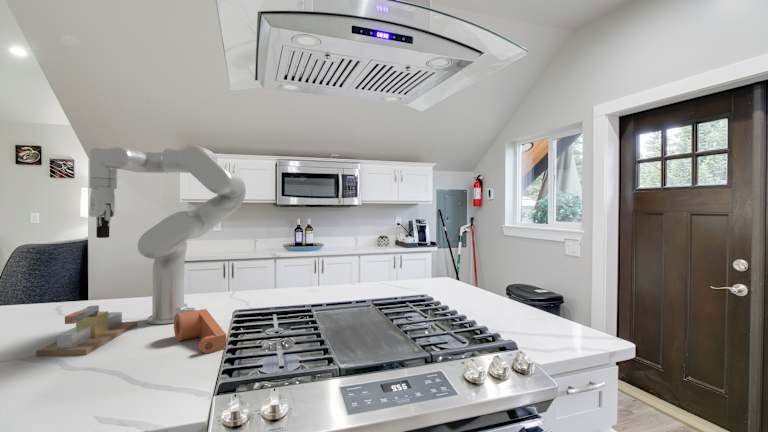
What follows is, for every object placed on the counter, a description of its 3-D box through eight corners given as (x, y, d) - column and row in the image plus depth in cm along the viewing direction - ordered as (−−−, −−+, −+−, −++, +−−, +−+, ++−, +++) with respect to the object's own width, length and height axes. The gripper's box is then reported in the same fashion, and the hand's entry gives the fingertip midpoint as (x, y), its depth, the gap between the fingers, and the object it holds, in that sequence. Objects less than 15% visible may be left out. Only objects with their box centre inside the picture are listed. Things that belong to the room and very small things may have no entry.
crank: (173, 337, 110) (173, 311, 110) (201, 331, 115) (201, 306, 115) (195, 356, 96) (195, 326, 96) (226, 348, 101) (226, 320, 101)
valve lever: (90, 311, 108) (90, 305, 108) (100, 311, 108) (100, 304, 108) (63, 324, 96) (63, 316, 96) (75, 323, 96) (75, 316, 96)
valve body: (107, 323, 117) (107, 303, 117) (124, 323, 118) (124, 303, 118) (54, 348, 95) (54, 324, 95) (74, 348, 96) (74, 323, 96)
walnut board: (98, 327, 118) (98, 322, 118) (137, 326, 119) (137, 321, 119) (36, 356, 94) (36, 350, 94) (86, 354, 95) (86, 349, 95)
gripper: (82, 184, 126) (82, 237, 126) (97, 182, 117) (96, 239, 117) (108, 185, 132) (108, 236, 132) (124, 184, 123) (123, 238, 123)
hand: (102, 237), depth 124 cm, fingers closed
